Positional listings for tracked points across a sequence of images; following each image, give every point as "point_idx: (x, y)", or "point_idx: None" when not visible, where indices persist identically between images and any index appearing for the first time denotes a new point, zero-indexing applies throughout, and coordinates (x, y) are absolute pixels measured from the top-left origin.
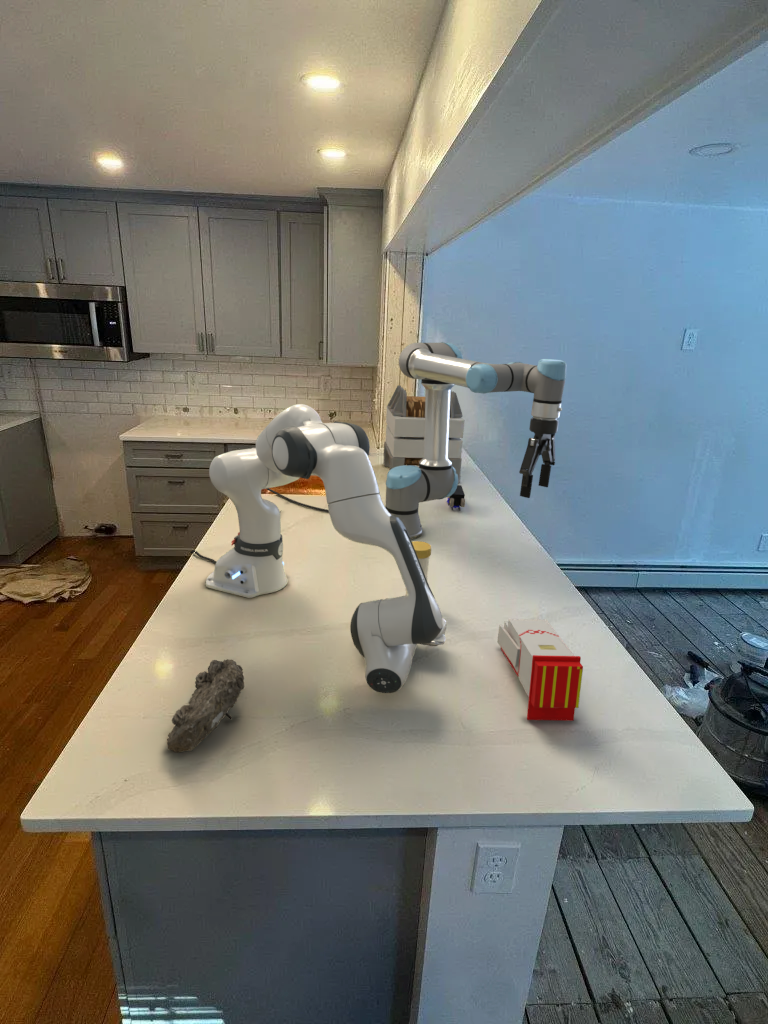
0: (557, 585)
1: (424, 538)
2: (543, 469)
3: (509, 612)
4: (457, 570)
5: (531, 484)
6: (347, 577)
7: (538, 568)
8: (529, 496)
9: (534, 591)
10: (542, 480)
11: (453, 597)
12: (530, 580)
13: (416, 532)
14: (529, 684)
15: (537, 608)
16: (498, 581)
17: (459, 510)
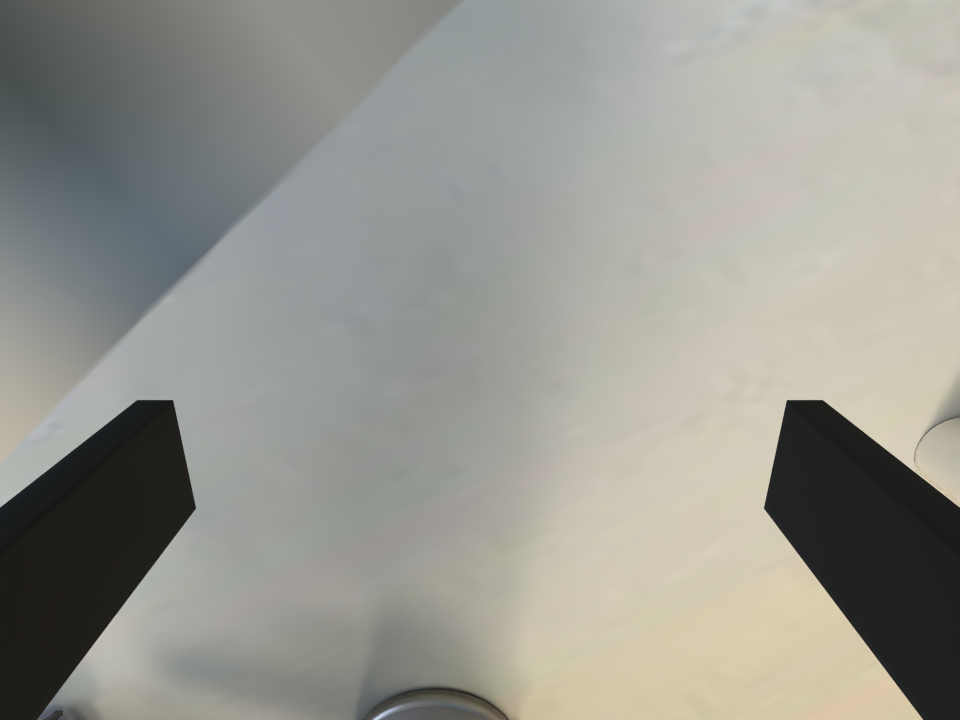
0: (459, 57)
1: (421, 672)
2: (21, 680)
3: (859, 134)
4: (607, 465)
5: (932, 512)
6: (875, 679)
7: (344, 213)
8: (821, 409)
9: (596, 126)
10: (143, 520)
11: (842, 371)
12: (496, 190)
13: (446, 712)
14: None
15: (757, 42)
16: (600, 299)
17: (61, 712)
